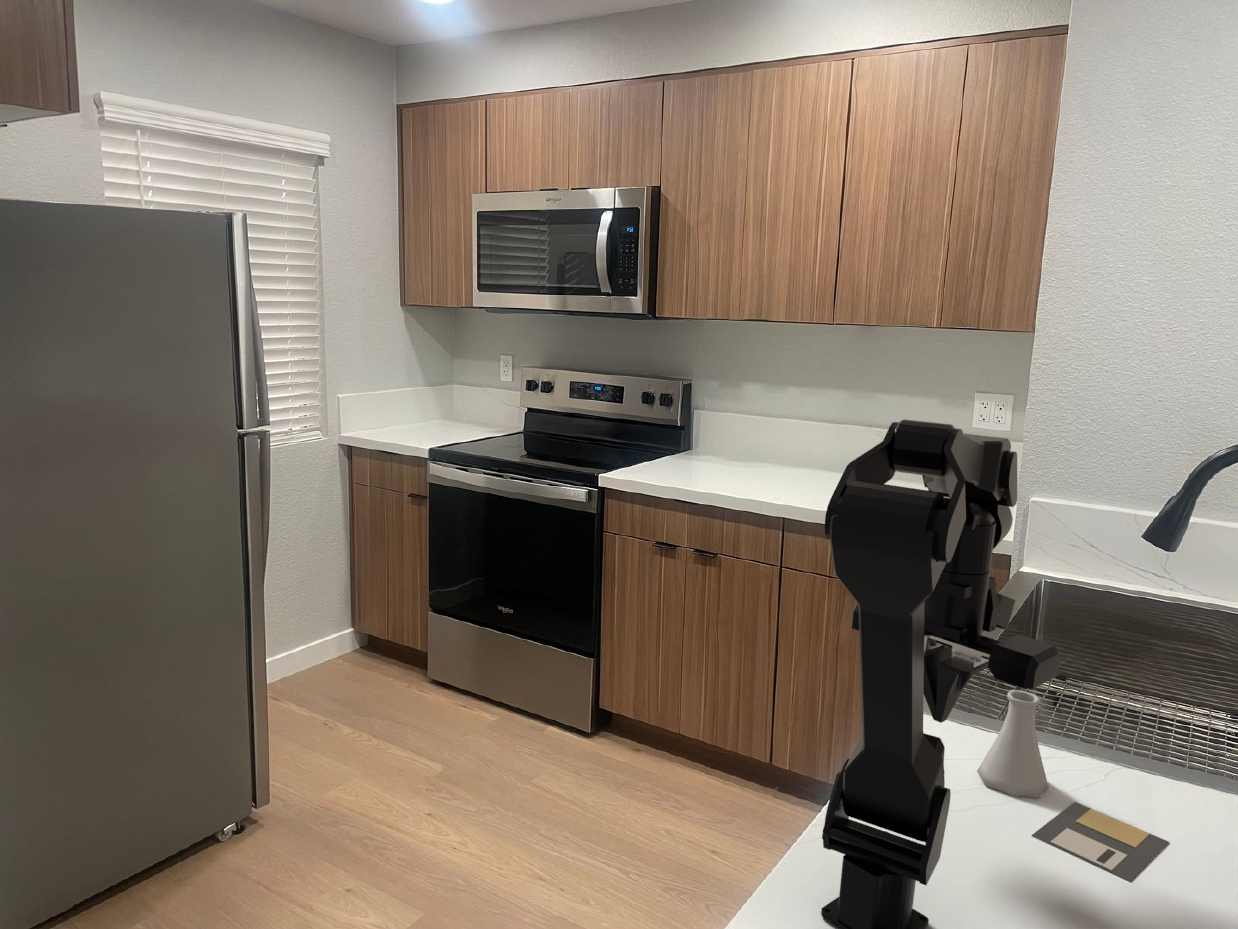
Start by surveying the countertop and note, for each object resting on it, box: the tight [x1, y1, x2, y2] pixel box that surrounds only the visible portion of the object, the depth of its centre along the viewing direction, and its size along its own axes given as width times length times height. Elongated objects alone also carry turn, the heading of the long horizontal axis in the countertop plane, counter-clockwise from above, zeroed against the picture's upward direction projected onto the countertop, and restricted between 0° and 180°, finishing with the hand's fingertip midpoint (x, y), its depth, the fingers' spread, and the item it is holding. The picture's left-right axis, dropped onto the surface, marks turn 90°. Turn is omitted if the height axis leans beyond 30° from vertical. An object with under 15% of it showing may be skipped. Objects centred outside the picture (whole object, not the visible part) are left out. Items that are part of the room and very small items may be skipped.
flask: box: [976, 689, 1049, 798], centre depth 98 cm, size 7×7×10 cm
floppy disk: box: [1031, 801, 1170, 882], centre depth 89 cm, size 10×9×1 cm
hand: (939, 720), depth 88 cm, fingers closed
